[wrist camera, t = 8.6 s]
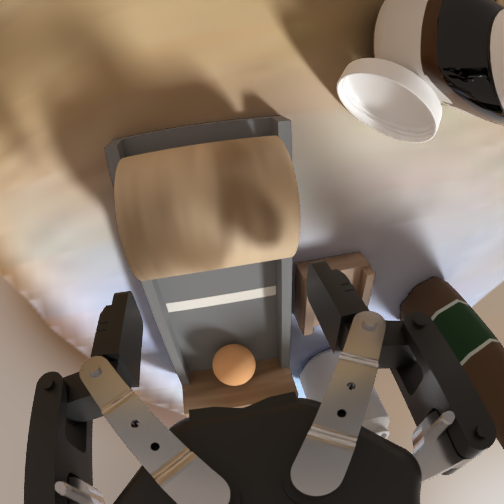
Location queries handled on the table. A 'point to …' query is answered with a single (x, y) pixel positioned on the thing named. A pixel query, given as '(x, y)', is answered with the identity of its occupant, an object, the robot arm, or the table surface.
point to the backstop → (237, 387)
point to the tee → (347, 264)
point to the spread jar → (428, 67)
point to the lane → (217, 271)
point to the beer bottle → (464, 341)
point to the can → (318, 380)
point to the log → (207, 207)
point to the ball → (234, 364)
